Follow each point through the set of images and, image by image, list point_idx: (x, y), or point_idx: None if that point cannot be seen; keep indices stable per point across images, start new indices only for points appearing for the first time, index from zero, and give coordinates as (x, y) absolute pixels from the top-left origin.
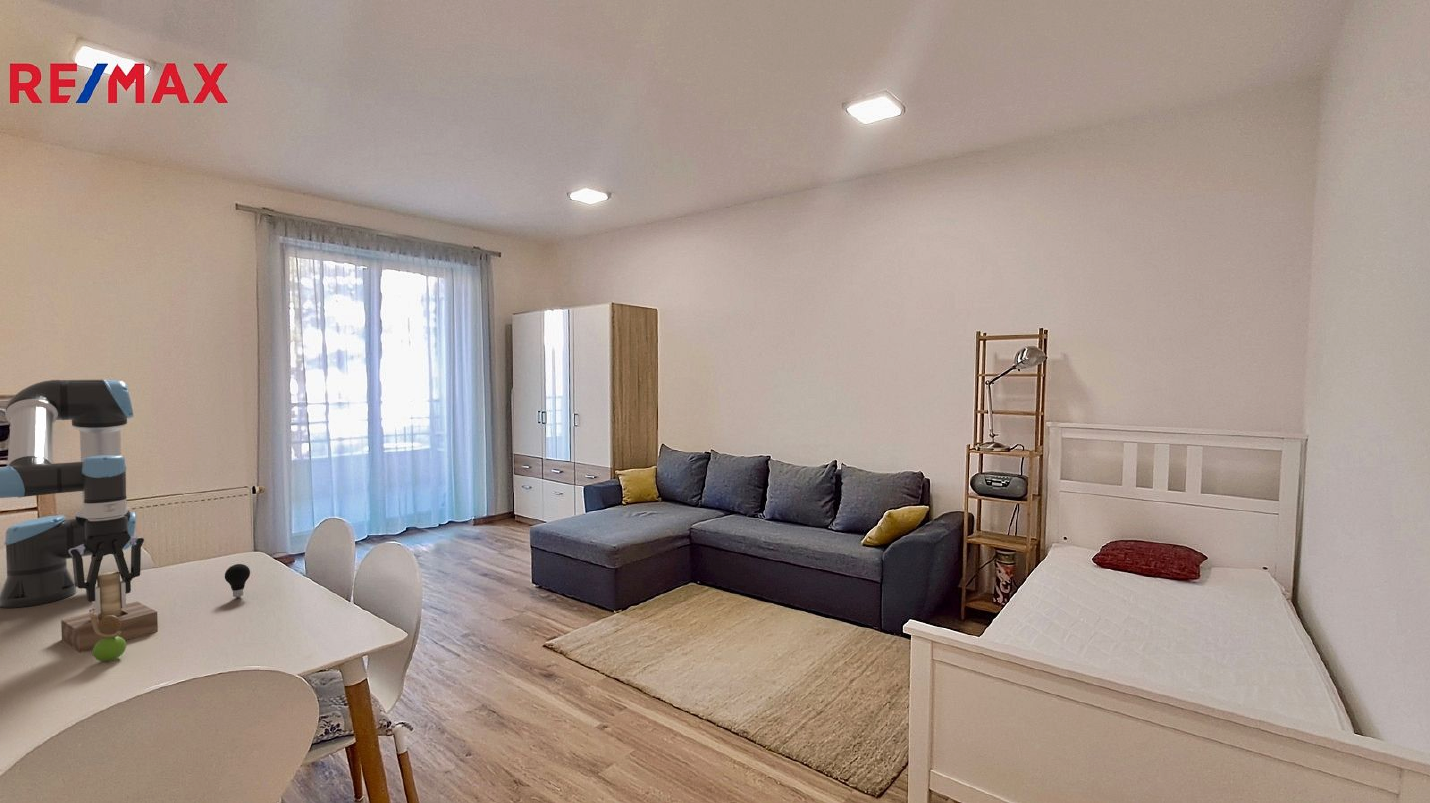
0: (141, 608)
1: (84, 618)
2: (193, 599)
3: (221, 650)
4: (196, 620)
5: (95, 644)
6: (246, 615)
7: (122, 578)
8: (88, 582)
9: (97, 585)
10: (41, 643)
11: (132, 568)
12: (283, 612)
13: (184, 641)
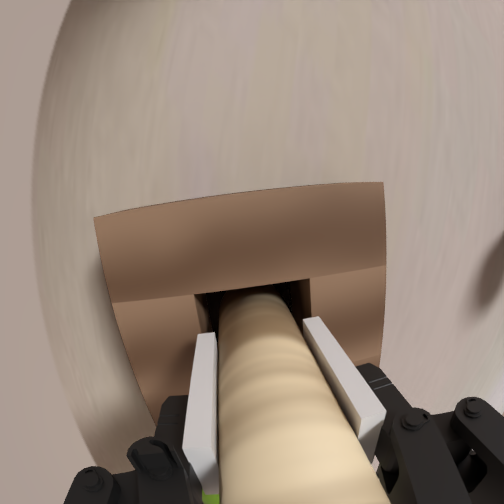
0: (364, 328)
1: (170, 296)
2: (468, 113)
3: None
4: (424, 342)
5: (202, 499)
6: (466, 376)
7: (388, 447)
8: (157, 497)
9: (219, 478)
10: (82, 203)
11: (483, 451)
12: (482, 396)
13: None
